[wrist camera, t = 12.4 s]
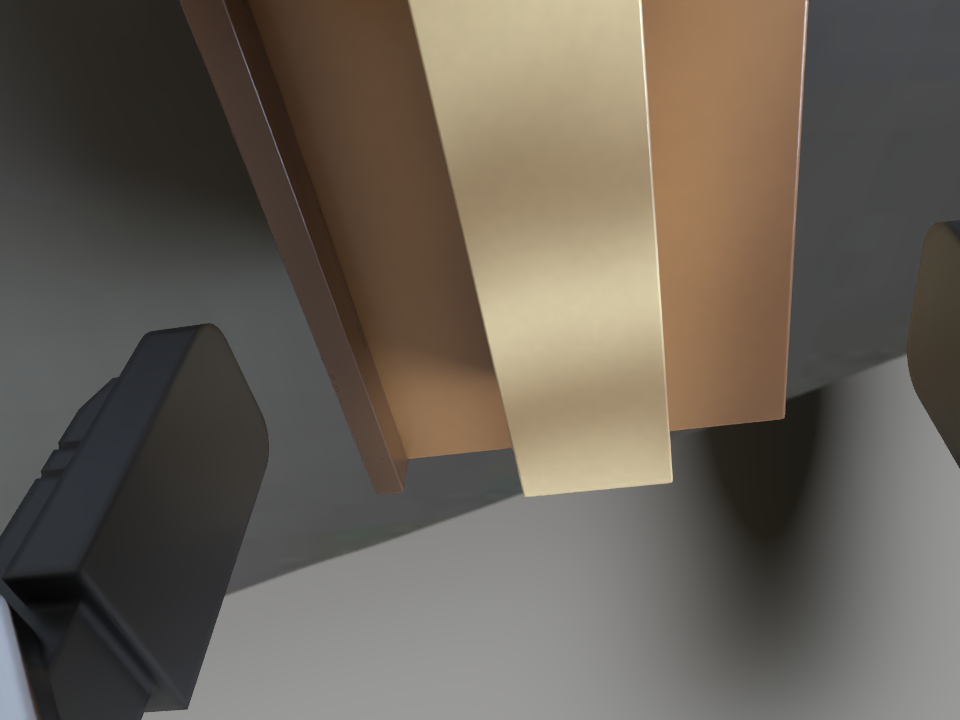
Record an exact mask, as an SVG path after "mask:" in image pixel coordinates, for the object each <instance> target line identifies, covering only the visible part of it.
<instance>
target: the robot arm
mask: <svg viewBox="0 0 960 720" xmlns="http://www.w3.org/2000/svg"><path fill="white" fill-rule="evenodd" d="M907 358H908V367H909V372H910V376H911V380H912V383H913V386H914V389H915V391H916V393H917V395H918V397H919V399H920V401H921V403H922V404H923V406H924V408H925V409H926V411H927V413H928V415H929V416H930V418H931V420H932V421H933V423H934V425H935V426H936V428H937V430H938V432H939V433H940V435H941V437H942V439H943V440H944V442H945V444H946V445H947V447H948V449H949V451H950V452H951V454H952V456H953V458H954V459H955V461H956V463H957V465H958V466H959V468H960V220H955V221H948V222H941V223H936V224H934V225H933V226H932V227H931V228H930V229H929V231H928V233H927V235H926V238H925V241H924V246H923V251H922V257H921V263H920V269H919V275H918V280H917V286H916V292H915V298H914V304H913V310H912V316H911V322H910V327H909V333H908V340H907ZM58 444H59V450H54V451H53V452H52V454H51V455H50V457H49V459H48V460H47V462H46V464H45V465H44V467H43V468H42V470H41V474H42V477H41V478H39V479H36V480H35V481H34V483H33V485H32V486H31V488H30V489H29V491H28V493H27V494H26V496H25V497H24V499H23V501H22V502H21V504H20V506H19V507H18V509H17V510H16V512H15V514H14V515H13V517H12V519H11V520H10V522H9V523H8V525H7V527H6V528H5V530H4V531H3V533H2V535H1V536H0V720H141V719H142V716H143V713H144V712H155V711H171V710H185V709H188V706H189V703H190V700H191V697H192V693H193V691H194V687H195V684H196V681H197V678H198V675H199V672H200V669H201V666H202V663H203V660H204V657H205V654H206V651H207V647H208V645H209V642H210V639H211V635H212V632H213V629H214V626H215V623H216V620H217V617H218V614H219V611H220V608H221V605H222V601H223V599H224V596H225V593H226V590H227V586H228V583H229V580H230V577H231V574H232V571H233V568H234V565H235V562H236V559H237V556H238V553H239V550H240V547H241V544H242V540H243V537H244V534H245V531H246V528H247V525H248V522H249V519H250V516H251V513H252V510H253V507H254V504H255V501H256V498H257V494H258V491H259V488H260V485H261V482H262V479H263V476H264V473H265V470H266V466H267V462H268V455H269V441H268V433H267V428H266V424H265V420H264V417H263V415H262V413H261V411H260V409H259V407H258V404H257V402H256V400H255V398H254V396H253V394H252V392H251V390H250V388H249V386H248V384H247V382H246V379H245V377H244V375H243V373H242V371H241V369H240V367H239V365H238V363H237V361H236V359H235V357H234V355H233V352H232V350H231V348H230V346H229V344H228V342H227V340H226V338H225V336H224V335H223V333H222V332H221V330H220V329H219V328H218V327H216V326H215V325H213V324H210V323H209V324H200V325H193V326H186V327H179V328H172V329H165V330H157V331H151V332H148V333H147V334H145V335H144V336H143V338H142V339H141V340H140V342H139V344H138V346H137V347H136V349H135V351H134V352H133V354H132V356H131V357H130V359H129V361H128V362H127V364H126V366H125V368H124V369H123V371H122V373H121V374H120V376H119V377H117V378H112V379H111V380H110V381H109V382H108V383H107V384H106V385H105V386H104V387H103V388H102V389H101V390H99V391H98V392H97V393H96V394H95V395H94V396H93V397H92V398H91V399H90V400H89V401H88V402H86V403H85V404H84V405H83V406H82V407H81V408H80V409H79V410H78V412H77V413H76V415H75V417H74V418H73V420H72V421H71V423H70V425H69V426H68V428H67V430H66V431H65V433H64V434H63V436H62V438H61V439H60V441H59V443H58Z"/></svg>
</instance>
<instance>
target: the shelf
mask: <svg viewBox="0 0 960 720" xmlns="http://www.w3.org/2000/svg"><path fill="white" fill-rule="evenodd" d="M179 1H180V3H181V6H182V9H183V11H184V14H185V16H186V19H187V21H188V24H189V26H190V29H191V31H192V34H193V36H194V39H195V41H196V44H197V46H198V49H199V51H200V54H201V56H202V59H203V61H204V64H205V66H206V69H207V71H208V74H209V76H210V79H211V81H212V84H213V86H214V89H215V91H216V94H217V96H218V99H219V101H220V104H221V107H222V109H223V112H224V114H225V117H226V119H227V122H228V124H229V127H230V129H231V132H232V134H233V137H234V139H235V142H236V144H237V147H238V149H239V152H240V154H241V157H242V159H243V162H244V164H245V167H246V169H247V172H248V174H249V177H250V179H251V182H252V184H253V187H254V189H255V192H256V194H257V197H258V199H259V202H260V204H261V207H262V210H263V212H264V215H265V217H266V220H267V222H268V225H269V227H270V230H271V232H272V235H273V237H274V240H275V242H276V245H277V247H278V250H279V252H280V255H281V257H282V260H283V262H284V265H285V267H286V270H287V272H288V275H289V277H290V280H291V282H292V285H293V287H294V290H295V292H296V295H297V297H298V300H299V302H300V305H301V308H302V310H303V313H304V315H305V318H306V320H307V323H308V325H309V328H310V330H311V333H312V335H313V338H314V340H315V343H316V345H317V348H318V350H319V353H320V355H321V358H322V360H323V363H324V365H325V368H326V370H327V373H328V375H329V378H330V380H331V383H332V385H333V388H334V390H335V393H336V395H337V398H338V400H339V403H340V406H341V408H342V411H343V413H344V416H345V418H346V421H347V423H348V426H349V428H350V431H351V433H352V436H353V438H354V441H355V443H356V446H357V448H358V451H359V453H360V456H361V458H362V461H363V463H364V466H365V468H366V471H367V473H368V476H369V478H370V481H371V483H372V486H373V488H374V491H375V493H376V494H386V493H396V492H403V491H404V485H405V478H406V471H407V465H408V459H411V458H421V457H430V456H440V455H449V454H458V453H468V452H477V451H487V450H496V449H505V448H512V444H511V440H510V435H509V431H508V427H507V423H506V418H505V414H504V410H503V406H502V401H501V397H500V393H499V389H498V384H497V380H496V376H495V371H494V367H493V363H492V359H491V354H490V350H489V346H488V342H487V337H486V333H485V329H484V325H483V320H482V316H481V312H480V307H479V303H478V299H477V295H476V290H475V286H474V282H473V278H472V273H471V269H470V265H469V261H468V256H467V252H466V248H465V243H464V239H463V235H462V231H461V226H460V222H459V218H458V214H457V209H456V205H455V201H454V197H453V192H452V188H451V184H450V179H449V175H448V171H447V167H446V162H445V158H444V154H443V150H442V145H441V141H440V137H439V133H438V128H437V124H436V120H435V115H434V111H433V107H432V103H431V98H430V94H429V90H428V86H427V81H426V77H425V73H424V69H423V64H422V60H421V56H420V51H419V47H418V43H417V39H416V34H415V30H414V26H413V22H412V17H411V13H410V9H409V5H408V0H179ZM808 5H809V0H642V13H643V29H644V44H645V60H646V75H647V90H648V106H649V121H650V137H651V152H652V167H653V183H654V198H655V214H656V229H657V244H658V260H659V275H660V291H661V306H662V321H663V337H664V352H665V368H666V383H667V398H668V414H669V429H670V431H675V430H684V429H693V428H703V427H712V426H721V425H730V424H740V423H749V422H759V421H768V420H777V419H783V418H784V416H785V404H786V387H787V369H788V352H789V335H790V317H791V300H792V283H793V265H794V248H795V231H796V213H797V196H798V178H799V161H800V144H801V126H802V109H803V92H804V74H805V57H806V40H807V22H808Z"/></svg>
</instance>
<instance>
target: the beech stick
mask: <svg viewBox="0 0 960 720" xmlns="http://www.w3.org/2000/svg"><path fill="white" fill-rule="evenodd" d="M408 5H409V9H410V13H411V17H412V22H413V26H414V30H415V34H416V39H417V43H418V47H419V51H420V56H421V60H422V64H423V69H424V73H425V77H426V81H427V86H428V90H429V94H430V98H431V103H432V107H433V111H434V115H435V120H436V124H437V128H438V133H439V137H440V141H441V145H442V150H443V154H444V158H445V162H446V167H447V171H448V175H449V179H450V184H451V188H452V192H453V197H454V201H455V205H456V209H457V214H458V218H459V222H460V226H461V231H462V235H463V239H464V243H465V248H466V252H467V256H468V261H469V265H470V269H471V273H472V278H473V282H474V286H475V290H476V295H477V299H478V303H479V307H480V312H481V316H482V320H483V325H484V329H485V333H486V337H487V342H488V346H489V350H490V354H491V359H492V363H493V367H494V371H495V376H496V380H497V384H498V389H499V393H500V397H501V401H502V406H503V410H504V414H505V418H506V423H507V427H508V431H509V435H510V440H511V444H512V448H513V453H514V457H515V461H516V465H517V470H518V474H519V478H520V482H521V487H522V491H523V495H524V496H525V497H531V496H541V495H550V494H561V493H571V492H582V491H592V490H601V489H612V488H622V487H632V486H641V485H642V486H643V485H653V484H663V483H671V482H672V481H673V476H672V460H671V445H670V429H669V414H668V398H667V383H666V368H665V352H664V337H663V321H662V306H661V291H660V275H659V260H658V244H657V229H656V214H655V198H654V183H653V167H652V152H651V137H650V121H649V106H648V90H647V75H646V60H645V44H644V29H643V13H642V0H408Z"/></svg>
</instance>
